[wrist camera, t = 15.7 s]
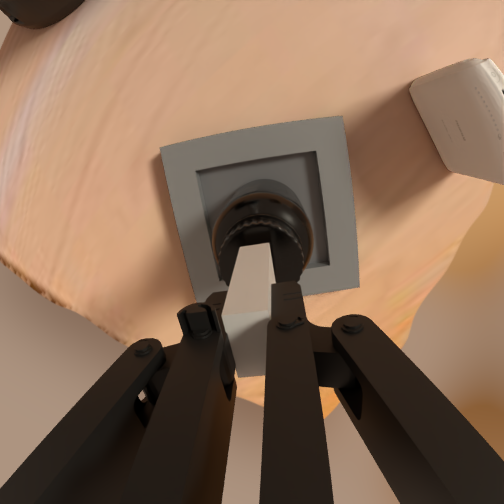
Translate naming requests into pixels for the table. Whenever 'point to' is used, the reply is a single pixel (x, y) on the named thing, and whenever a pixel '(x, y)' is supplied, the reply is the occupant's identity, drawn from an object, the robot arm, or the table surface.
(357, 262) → the base plate
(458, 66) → the photo printer
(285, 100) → the table surface
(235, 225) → the supplement bottle
